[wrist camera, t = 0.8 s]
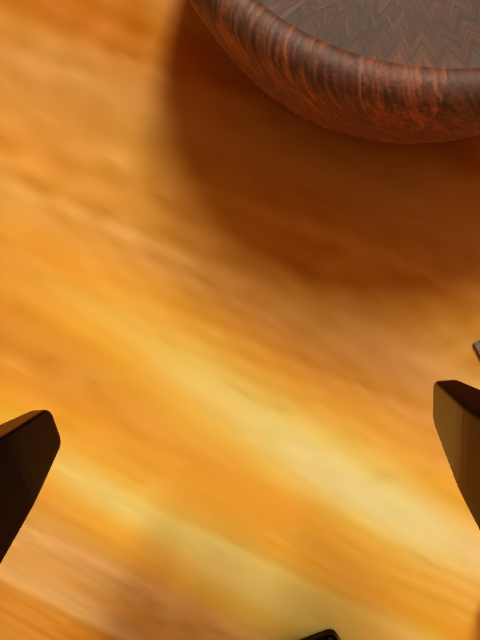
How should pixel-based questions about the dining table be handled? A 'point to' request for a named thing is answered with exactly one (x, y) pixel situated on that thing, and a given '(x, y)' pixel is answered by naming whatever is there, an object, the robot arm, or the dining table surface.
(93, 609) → the dining table surface
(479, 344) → the letter tile
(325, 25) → the wooden bowl
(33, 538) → the dining table surface
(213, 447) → the dining table surface
